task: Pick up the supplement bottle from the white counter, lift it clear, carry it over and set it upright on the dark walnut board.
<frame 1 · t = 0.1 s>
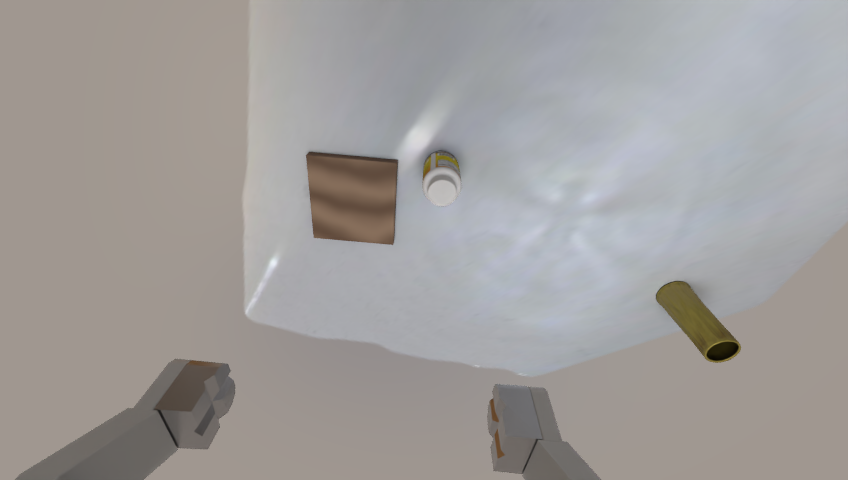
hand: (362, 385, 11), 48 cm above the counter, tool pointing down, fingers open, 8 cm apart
vase: (672, 292, 69), on the counter
supplement bottle: (441, 166, 57), on the counter
walnut board: (354, 199, 61), on the counter
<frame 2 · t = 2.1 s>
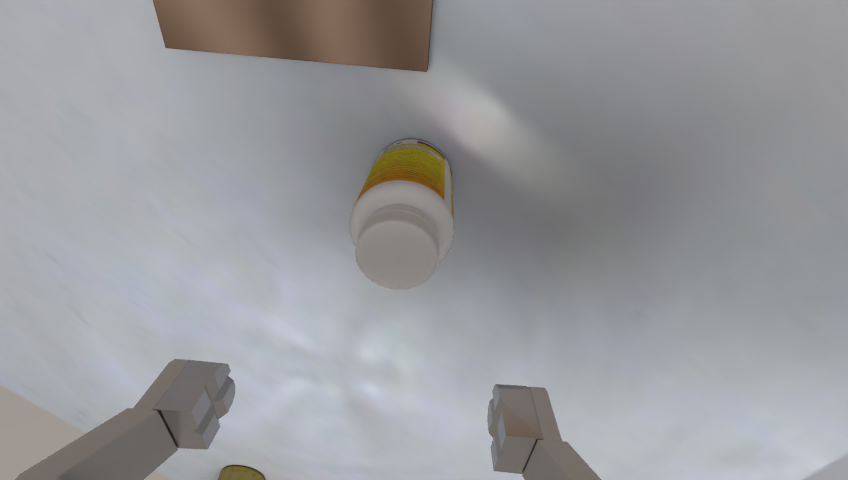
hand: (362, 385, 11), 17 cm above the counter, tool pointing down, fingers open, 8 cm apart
vase: (244, 474, 51), on the counter
supplement bottle: (412, 174, 26), on the counter
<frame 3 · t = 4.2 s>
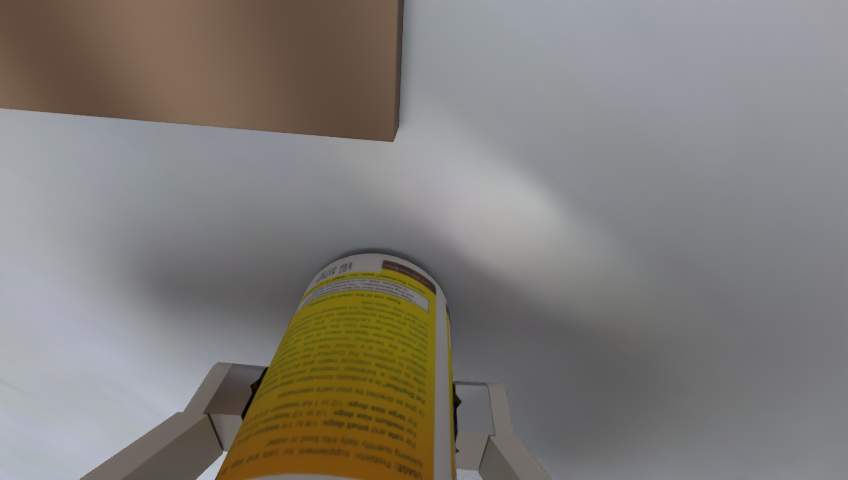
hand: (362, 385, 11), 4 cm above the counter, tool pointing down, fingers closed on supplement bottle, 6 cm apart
supplement bottle: (379, 301, 14), on the counter, touching gripper
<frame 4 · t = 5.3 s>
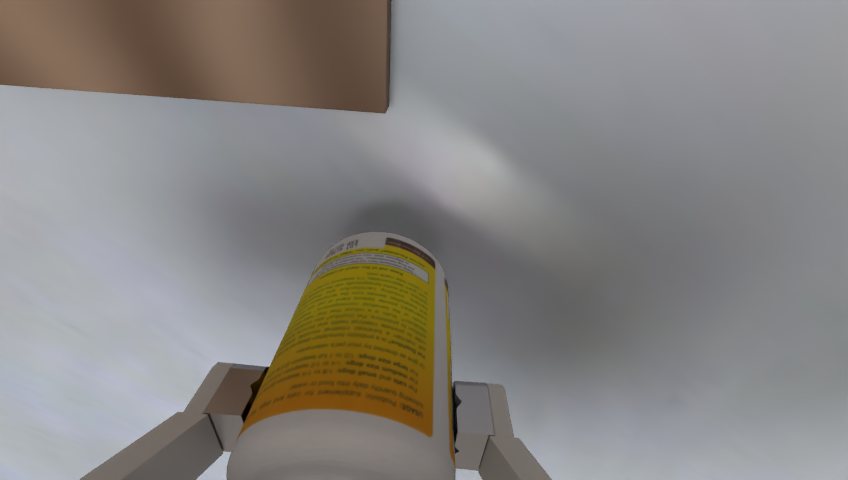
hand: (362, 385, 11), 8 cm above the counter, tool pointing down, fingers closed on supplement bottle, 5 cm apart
supplement bottle: (383, 277, 15), point 3 cm above the counter, touching gripper
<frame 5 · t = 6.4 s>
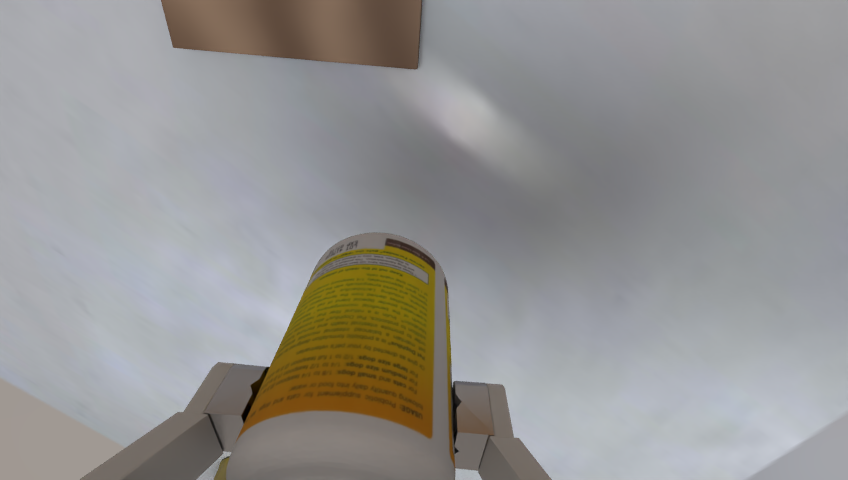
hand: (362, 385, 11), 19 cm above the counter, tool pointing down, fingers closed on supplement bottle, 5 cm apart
vase: (243, 465, 52), on the counter
supplement bottle: (383, 278, 15), point 14 cm above the counter, touching gripper
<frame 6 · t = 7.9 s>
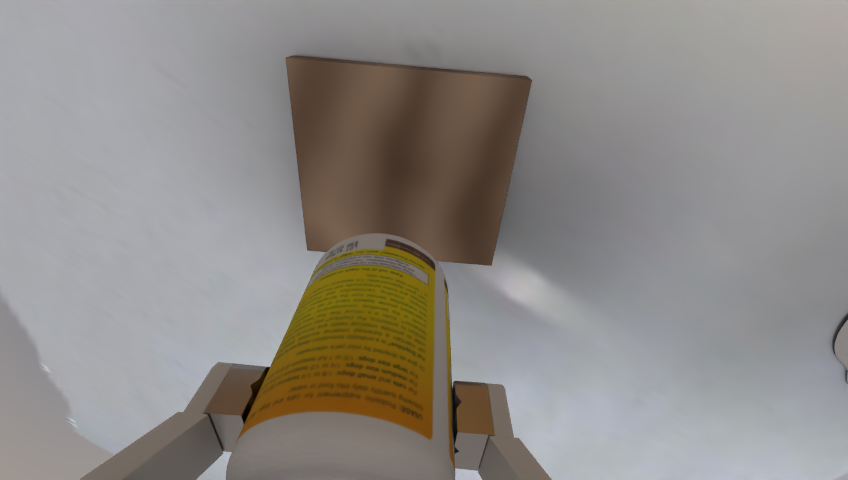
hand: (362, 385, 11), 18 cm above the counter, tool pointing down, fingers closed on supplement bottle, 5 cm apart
supplement bottle: (383, 279, 15), point 13 cm above the counter, touching gripper
walnut board: (405, 169, 27), on the counter
when the fingers open (7 cm above the counter, at t = 10.9 s): supplement bottle stays where it is, resting on walnut board.
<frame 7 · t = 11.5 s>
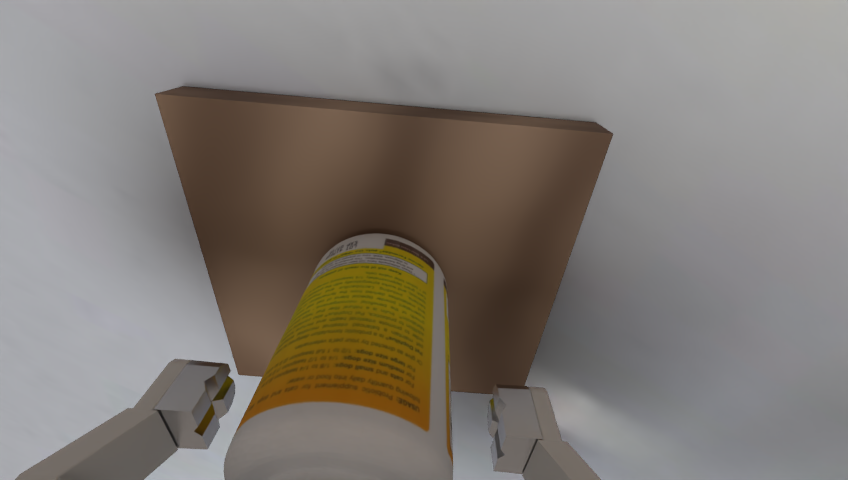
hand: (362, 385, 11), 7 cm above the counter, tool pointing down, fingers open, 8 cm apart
supplement bottle: (383, 280, 16), point 1 cm above the counter, touching walnut board
walnut board: (386, 262, 17), on the counter
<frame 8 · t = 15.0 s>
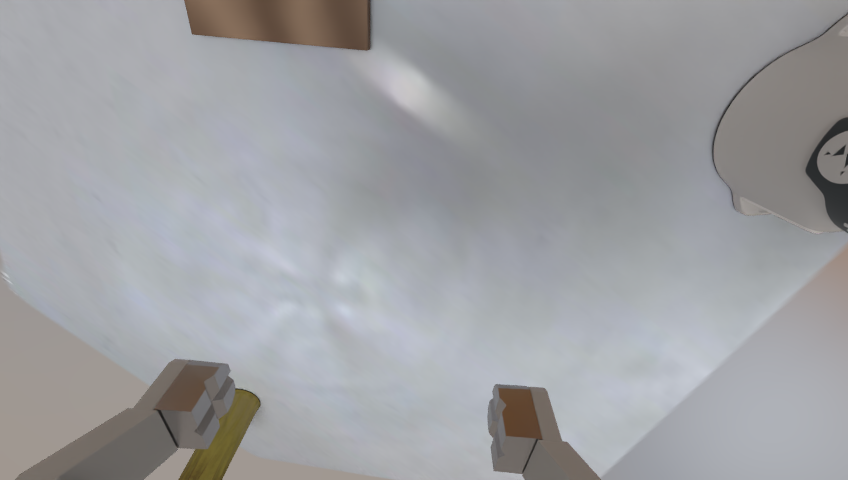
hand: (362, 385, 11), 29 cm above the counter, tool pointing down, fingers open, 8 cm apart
vase: (242, 398, 60), on the counter
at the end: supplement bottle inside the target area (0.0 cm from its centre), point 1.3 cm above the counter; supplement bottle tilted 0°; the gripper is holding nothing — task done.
